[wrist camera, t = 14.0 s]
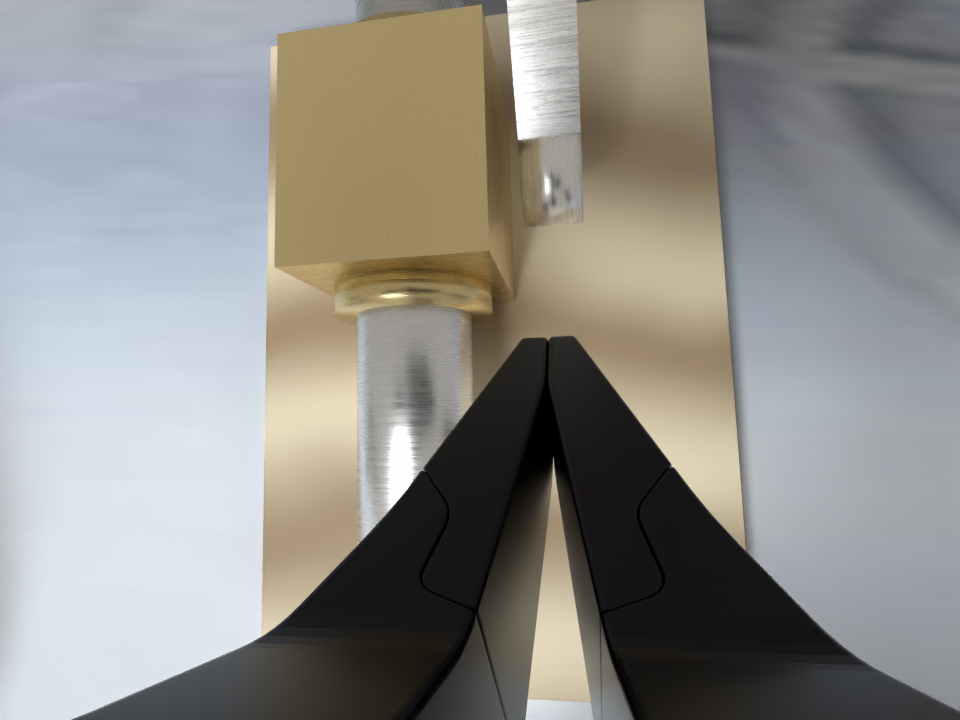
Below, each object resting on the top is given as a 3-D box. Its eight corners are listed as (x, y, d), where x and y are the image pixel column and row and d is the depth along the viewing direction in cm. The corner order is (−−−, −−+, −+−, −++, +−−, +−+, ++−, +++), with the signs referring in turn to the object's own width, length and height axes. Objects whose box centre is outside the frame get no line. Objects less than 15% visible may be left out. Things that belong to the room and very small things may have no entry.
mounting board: (747, 693, 17) (758, 710, 16) (277, 672, 19) (261, 685, 18) (696, 7, 19) (702, -16, 18) (284, 63, 22) (270, 46, 21)
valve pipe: (527, 663, 17) (504, 776, 12) (361, 656, 18) (266, 759, 13) (506, 40, 19) (478, -110, 14) (359, 60, 20) (279, -75, 15)
